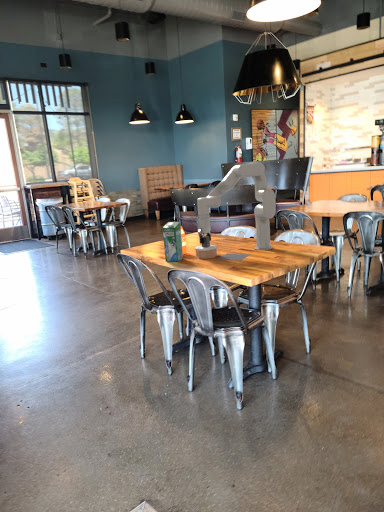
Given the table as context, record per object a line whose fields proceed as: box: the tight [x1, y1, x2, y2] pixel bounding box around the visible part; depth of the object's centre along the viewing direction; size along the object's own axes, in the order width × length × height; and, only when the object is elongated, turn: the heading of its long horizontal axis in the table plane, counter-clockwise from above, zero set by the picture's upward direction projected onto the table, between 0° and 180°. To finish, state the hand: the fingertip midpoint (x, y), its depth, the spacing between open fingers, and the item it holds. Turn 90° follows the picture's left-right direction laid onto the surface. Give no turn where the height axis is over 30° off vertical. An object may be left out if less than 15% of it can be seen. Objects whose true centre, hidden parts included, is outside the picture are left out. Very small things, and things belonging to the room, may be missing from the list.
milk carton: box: [162, 221, 184, 262], centre depth 254 cm, size 9×9×25 cm
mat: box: [217, 252, 252, 262], centre depth 251 cm, size 17×17×1 cm
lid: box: [194, 235, 218, 251], centre depth 256 cm, size 15×15×8 cm
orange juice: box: [181, 225, 187, 255], centre depth 272 cm, size 8×9×20 cm
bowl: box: [195, 249, 218, 260], centre depth 258 cm, size 13×13×6 cm
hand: (205, 242), depth 256 cm, fingers open, 9 cm apart
